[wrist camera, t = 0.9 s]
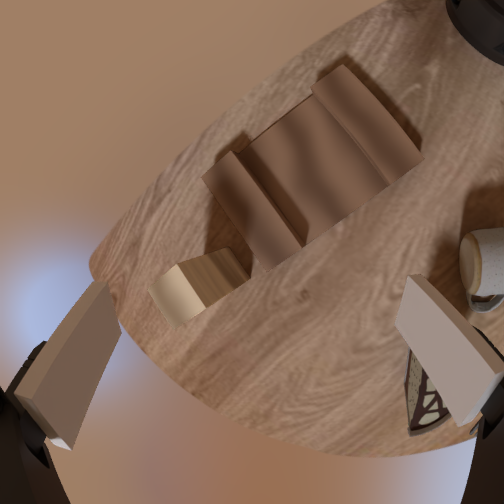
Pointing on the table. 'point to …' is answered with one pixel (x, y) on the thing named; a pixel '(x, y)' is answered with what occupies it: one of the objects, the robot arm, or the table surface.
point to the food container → (422, 399)
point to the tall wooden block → (197, 285)
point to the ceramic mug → (483, 267)
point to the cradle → (311, 168)
